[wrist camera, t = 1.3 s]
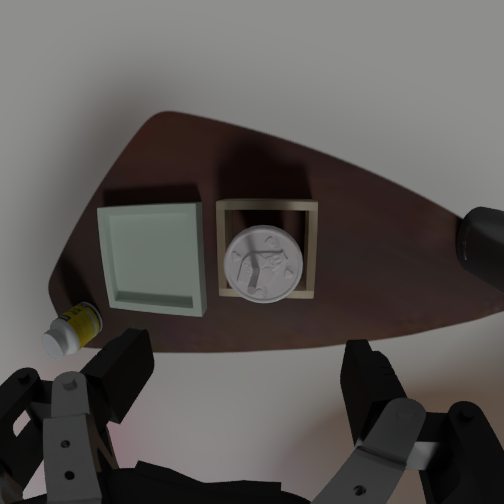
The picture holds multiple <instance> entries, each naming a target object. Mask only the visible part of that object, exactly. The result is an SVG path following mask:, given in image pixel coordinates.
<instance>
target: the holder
mask: <svg viewBox="0 0 504 504" xmlns="http://www.w3.org/2000/svg"><path fill="white" fill-rule="evenodd" d="M232 210H305V237H304V264H303V276H301V278H300V281H299V283H298V284H297V286H296V287H295V289H294V290H293V291H292V292H291V293H290V294H289V295H287V296H286V297H284V298H313V295H314V281H315V264H316V245H317V217H318V202H316V201H315V200H313V199H223V200H219V201H216V221H217V252H218V277H219V296H237V297H242V296H240V295H239V294H238V293H236V292H235V291H234V289H233V288H232V287H231V286H230V284H229V282H228V280H227V278H226V275H225V271H224V258H225V254H226V251H227V249H228V247H229V244H230V243H231V242H232V240H233V211H232Z"/></svg>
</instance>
